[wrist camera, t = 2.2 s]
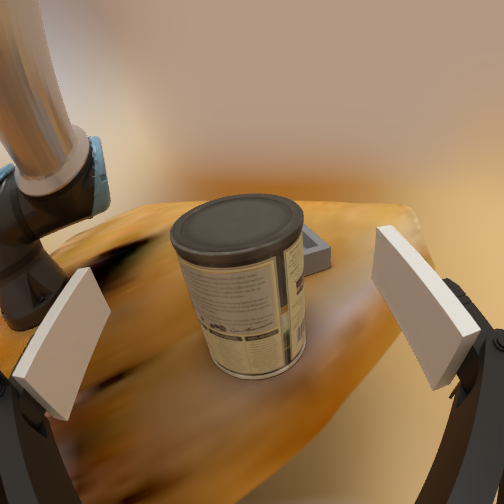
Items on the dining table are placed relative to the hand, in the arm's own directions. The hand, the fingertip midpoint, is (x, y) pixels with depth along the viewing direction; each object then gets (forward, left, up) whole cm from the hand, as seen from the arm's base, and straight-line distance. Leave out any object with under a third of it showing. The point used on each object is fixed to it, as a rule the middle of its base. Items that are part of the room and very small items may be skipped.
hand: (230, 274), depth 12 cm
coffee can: (+2, +10, -16) cm, 19 cm away
